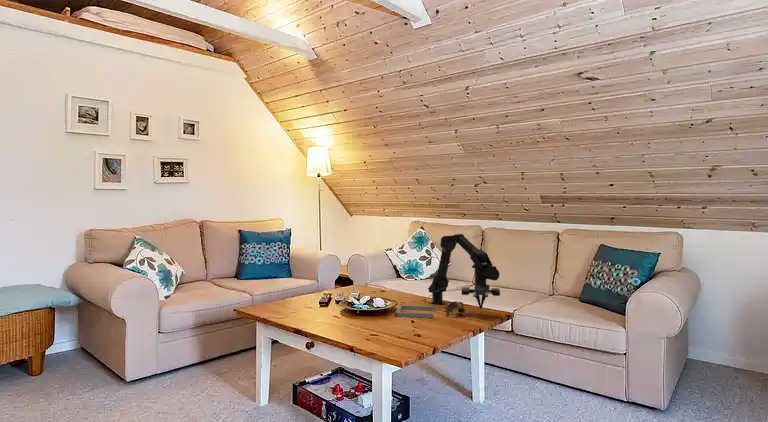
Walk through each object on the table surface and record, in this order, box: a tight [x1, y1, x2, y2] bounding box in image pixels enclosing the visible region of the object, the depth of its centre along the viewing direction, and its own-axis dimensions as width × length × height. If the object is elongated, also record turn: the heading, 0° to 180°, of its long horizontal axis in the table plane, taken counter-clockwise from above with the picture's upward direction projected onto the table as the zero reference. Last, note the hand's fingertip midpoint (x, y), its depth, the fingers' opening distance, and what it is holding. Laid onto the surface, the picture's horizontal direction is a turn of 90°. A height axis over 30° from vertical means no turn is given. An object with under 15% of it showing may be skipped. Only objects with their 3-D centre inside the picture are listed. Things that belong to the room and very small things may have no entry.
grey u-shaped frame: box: [394, 304, 437, 319], centre depth 257 cm, size 16×19×2 cm
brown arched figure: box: [445, 300, 467, 318], centre depth 252 cm, size 12×10×8 cm
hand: (480, 308), depth 251 cm, fingers closed
